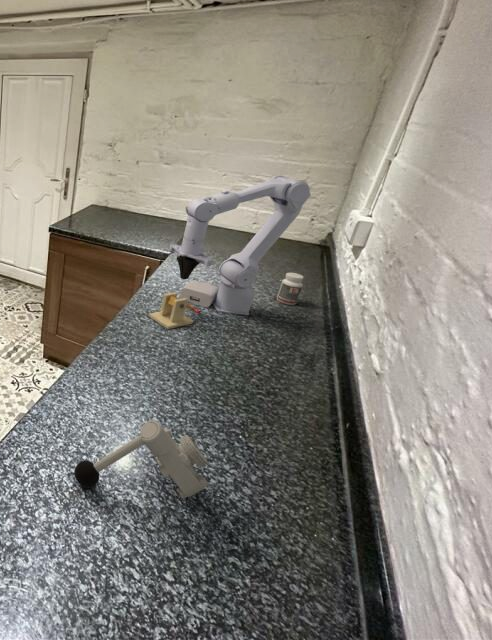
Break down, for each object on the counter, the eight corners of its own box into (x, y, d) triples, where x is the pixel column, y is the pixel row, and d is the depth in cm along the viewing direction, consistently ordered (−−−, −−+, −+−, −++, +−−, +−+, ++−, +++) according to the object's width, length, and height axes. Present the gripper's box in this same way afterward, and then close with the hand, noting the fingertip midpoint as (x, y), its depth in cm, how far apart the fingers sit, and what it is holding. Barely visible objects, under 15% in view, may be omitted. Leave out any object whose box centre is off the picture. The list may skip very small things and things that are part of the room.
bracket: (172, 311, 128) (177, 288, 125) (192, 324, 121) (199, 300, 118) (148, 316, 124) (153, 293, 121) (167, 329, 117) (173, 305, 114)
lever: (183, 307, 127) (187, 301, 127) (198, 316, 122) (202, 309, 122) (162, 300, 122) (166, 293, 121) (177, 308, 117) (181, 301, 117)
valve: (108, 497, 77) (63, 450, 74) (196, 444, 74) (154, 392, 70) (127, 550, 68) (77, 499, 64) (230, 492, 64) (183, 434, 60)
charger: (221, 294, 140) (208, 308, 130) (193, 286, 146) (179, 299, 136) (224, 281, 138) (211, 295, 128) (196, 274, 144) (181, 287, 134)
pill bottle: (299, 306, 133) (309, 279, 130) (280, 304, 134) (289, 277, 131) (290, 298, 139) (300, 272, 135) (272, 296, 140) (281, 271, 136)
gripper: (165, 232, 127) (157, 271, 132) (204, 247, 114) (193, 289, 119) (182, 230, 129) (173, 268, 134) (221, 245, 117) (210, 286, 122)
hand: (184, 278), depth 127 cm, fingers closed
